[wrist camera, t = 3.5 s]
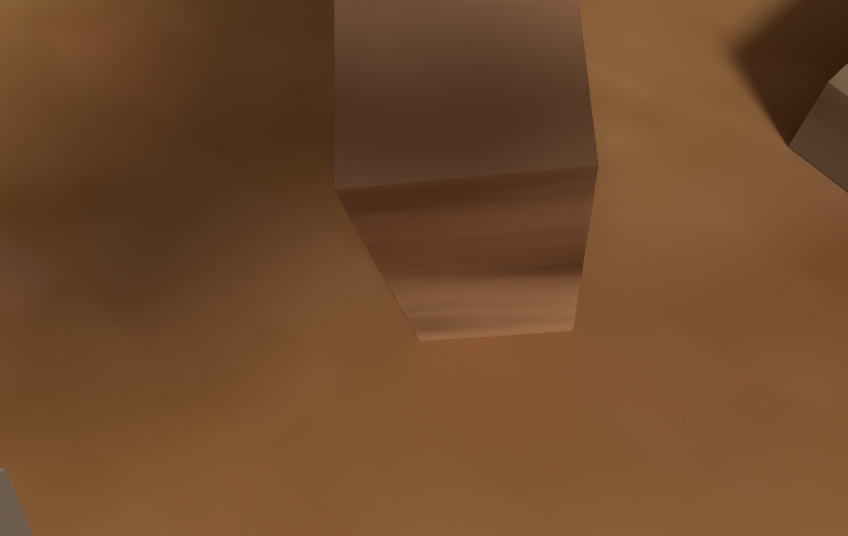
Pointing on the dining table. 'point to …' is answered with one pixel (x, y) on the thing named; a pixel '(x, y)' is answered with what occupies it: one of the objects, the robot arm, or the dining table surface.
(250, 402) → the dining table surface
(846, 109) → the tray
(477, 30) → the cherry block
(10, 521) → the robot arm
